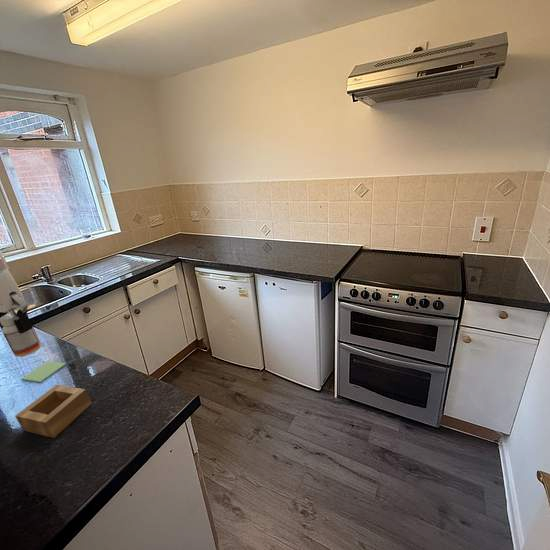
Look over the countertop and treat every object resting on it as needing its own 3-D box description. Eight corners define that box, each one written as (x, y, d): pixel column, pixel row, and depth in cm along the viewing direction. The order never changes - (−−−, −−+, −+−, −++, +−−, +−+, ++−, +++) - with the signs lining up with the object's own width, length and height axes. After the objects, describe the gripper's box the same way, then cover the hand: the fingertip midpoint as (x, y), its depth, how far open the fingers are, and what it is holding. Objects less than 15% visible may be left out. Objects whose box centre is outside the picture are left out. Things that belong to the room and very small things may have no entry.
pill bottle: (21, 348, 85) (3, 313, 81) (45, 342, 86) (29, 307, 82) (10, 360, 79) (-10, 323, 75) (36, 353, 81) (18, 317, 77)
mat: (21, 379, 97) (21, 378, 96) (48, 362, 105) (47, 360, 104) (40, 382, 94) (40, 381, 94) (66, 364, 102) (66, 363, 101)
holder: (23, 430, 76) (14, 415, 74) (63, 398, 85) (56, 384, 84) (53, 438, 72) (45, 422, 70) (91, 403, 82) (85, 389, 80)
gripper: (-52, 272, 74) (-18, 334, 80) (-9, 273, 68) (24, 340, 74) (-17, 262, 80) (12, 320, 87) (26, 262, 74) (53, 324, 81)
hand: (17, 329), depth 80 cm, fingers closed on pill bottle, 6 cm apart
